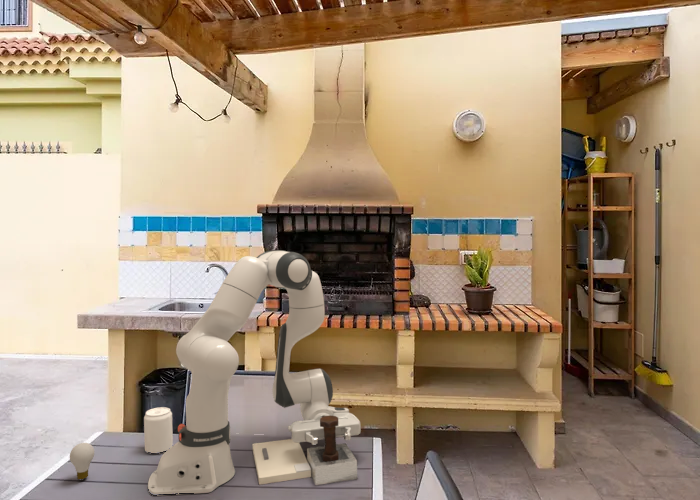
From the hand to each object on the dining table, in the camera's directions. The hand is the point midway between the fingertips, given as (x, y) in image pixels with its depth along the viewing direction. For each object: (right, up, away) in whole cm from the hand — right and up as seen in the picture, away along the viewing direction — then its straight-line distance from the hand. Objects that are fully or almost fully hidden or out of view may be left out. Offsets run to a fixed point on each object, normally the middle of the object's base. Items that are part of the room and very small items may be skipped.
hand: (331, 439), depth 132 cm
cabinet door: (-15, -9, +7) cm, 19 cm away
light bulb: (-68, -10, -2) cm, 69 cm away
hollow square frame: (0, -9, +1) cm, 10 cm away
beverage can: (-55, -10, +17) cm, 58 cm away
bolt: (0, -10, +1) cm, 10 cm away
